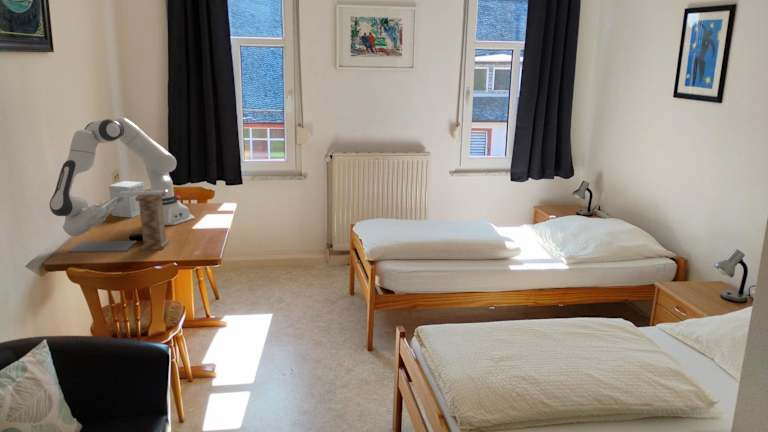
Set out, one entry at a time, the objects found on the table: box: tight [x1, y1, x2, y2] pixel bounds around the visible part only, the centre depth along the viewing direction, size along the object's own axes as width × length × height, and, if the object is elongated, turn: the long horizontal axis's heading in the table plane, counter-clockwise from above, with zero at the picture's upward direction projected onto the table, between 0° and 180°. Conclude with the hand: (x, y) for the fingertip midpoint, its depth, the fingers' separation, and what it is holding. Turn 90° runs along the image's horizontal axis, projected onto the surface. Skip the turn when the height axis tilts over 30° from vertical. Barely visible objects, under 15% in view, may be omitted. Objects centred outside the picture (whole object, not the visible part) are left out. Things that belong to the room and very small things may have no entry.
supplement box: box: [108, 180, 145, 218], centre depth 344 cm, size 13×13×18 cm
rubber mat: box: [68, 240, 138, 253], centre depth 290 cm, size 26×14×1 cm, turn 93°
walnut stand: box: [136, 196, 170, 251], centre depth 288 cm, size 10×10×25 cm
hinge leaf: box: [120, 189, 169, 196], centre depth 284 cm, size 21×4×2 cm, turn 94°
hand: (120, 199), depth 284 cm, fingers open, 8 cm apart
